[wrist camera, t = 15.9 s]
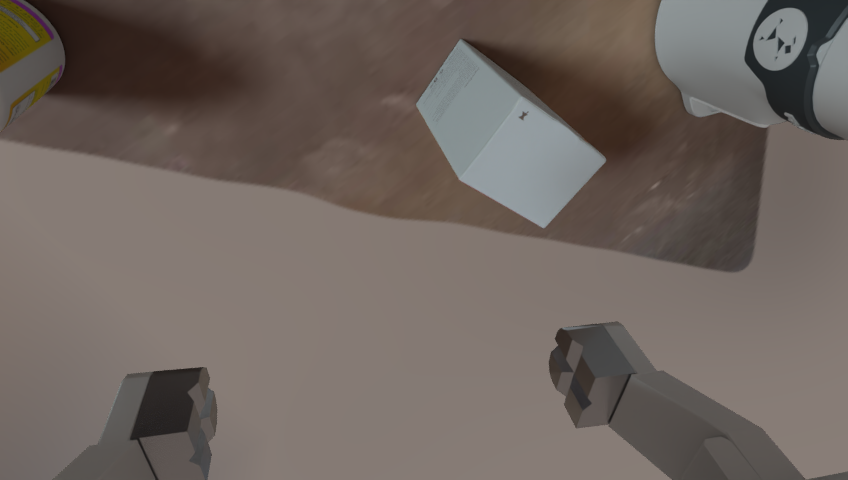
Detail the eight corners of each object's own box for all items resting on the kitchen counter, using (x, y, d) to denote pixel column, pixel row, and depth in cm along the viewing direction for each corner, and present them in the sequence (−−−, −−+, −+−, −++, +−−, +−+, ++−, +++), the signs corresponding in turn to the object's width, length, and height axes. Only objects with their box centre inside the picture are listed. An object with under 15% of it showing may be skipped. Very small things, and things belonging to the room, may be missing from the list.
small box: (413, 104, 40) (455, 180, 30) (460, 36, 38) (523, 93, 27) (485, 150, 44) (544, 231, 34) (532, 90, 42) (611, 158, 31)
